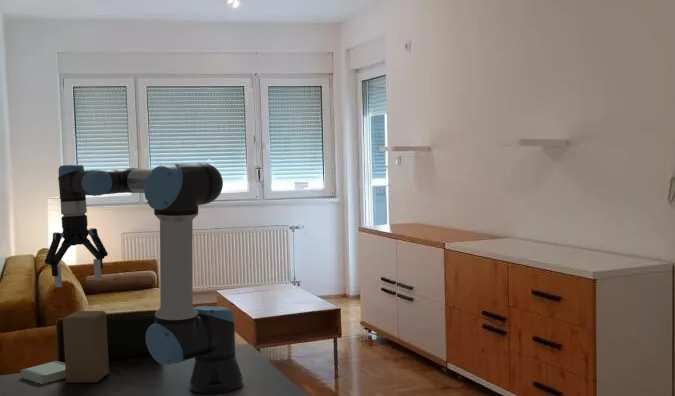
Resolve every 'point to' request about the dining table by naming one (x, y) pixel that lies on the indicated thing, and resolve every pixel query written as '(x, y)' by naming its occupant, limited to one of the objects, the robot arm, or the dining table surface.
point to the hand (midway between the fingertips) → (78, 283)
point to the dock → (45, 372)
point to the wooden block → (85, 346)
